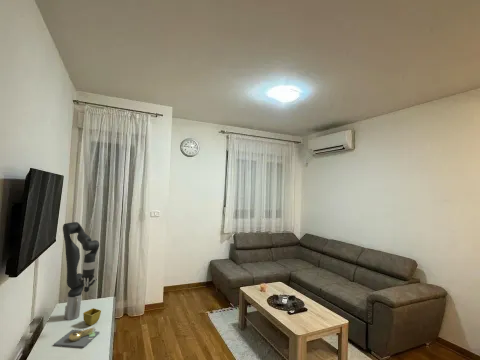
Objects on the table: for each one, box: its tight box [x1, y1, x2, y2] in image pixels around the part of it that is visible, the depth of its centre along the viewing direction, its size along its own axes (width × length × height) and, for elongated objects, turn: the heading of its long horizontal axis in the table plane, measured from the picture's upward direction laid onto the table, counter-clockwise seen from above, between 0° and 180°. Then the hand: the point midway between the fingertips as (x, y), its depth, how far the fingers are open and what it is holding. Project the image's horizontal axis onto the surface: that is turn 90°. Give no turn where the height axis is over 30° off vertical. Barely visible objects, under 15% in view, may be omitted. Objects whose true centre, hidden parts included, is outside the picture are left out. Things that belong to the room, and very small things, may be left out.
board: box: [53, 329, 100, 349], centre depth 166 cm, size 21×18×2 cm
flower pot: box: [82, 307, 102, 326], centre depth 186 cm, size 9×9×9 cm
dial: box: [69, 327, 96, 342], centre depth 167 cm, size 15×7×4 cm, turn 135°
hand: (86, 291), depth 179 cm, fingers closed
